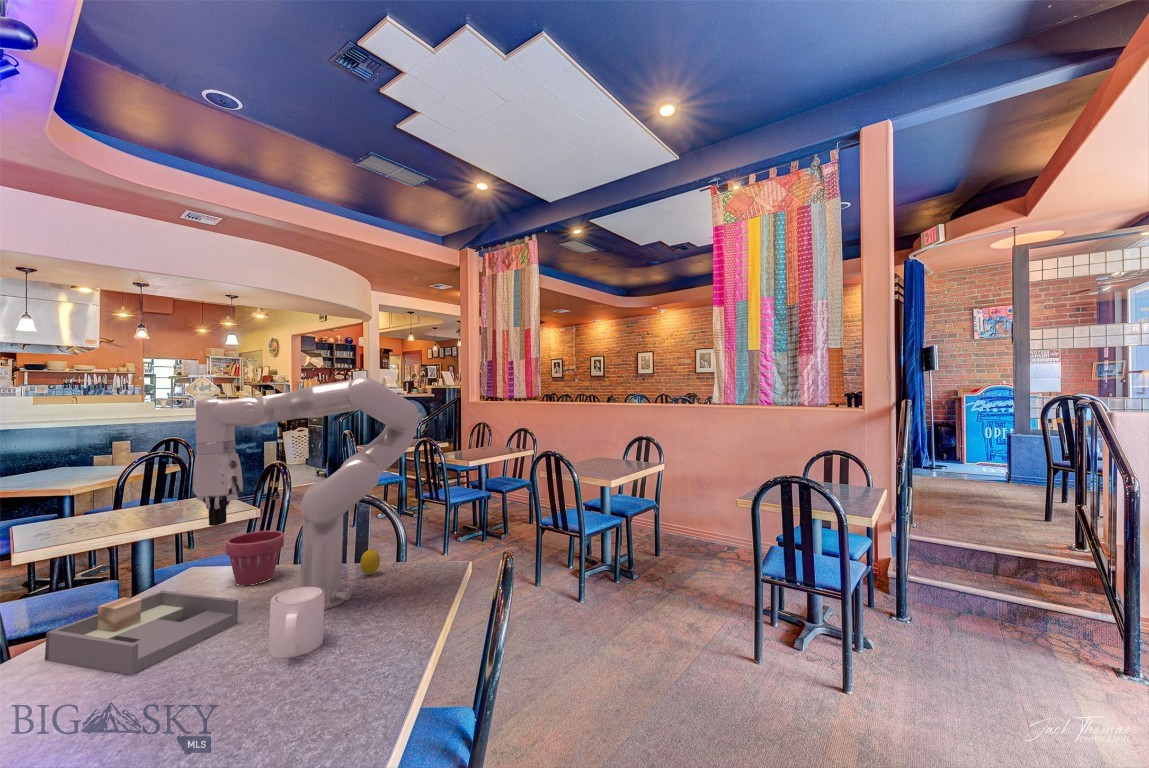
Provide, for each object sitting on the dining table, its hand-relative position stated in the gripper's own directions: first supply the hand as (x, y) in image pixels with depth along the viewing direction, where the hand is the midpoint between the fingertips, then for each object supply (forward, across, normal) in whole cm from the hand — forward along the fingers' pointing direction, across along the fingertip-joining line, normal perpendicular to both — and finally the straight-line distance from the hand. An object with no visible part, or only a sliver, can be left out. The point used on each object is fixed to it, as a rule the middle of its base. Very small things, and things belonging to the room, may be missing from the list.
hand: (217, 524), depth 115 cm
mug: (+24, -28, +9) cm, 38 cm away
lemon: (+25, -18, -33) cm, 45 cm away
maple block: (+19, +13, +12) cm, 26 cm away
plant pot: (+23, +12, -22) cm, 34 cm away
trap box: (+22, +5, +12) cm, 26 cm away
